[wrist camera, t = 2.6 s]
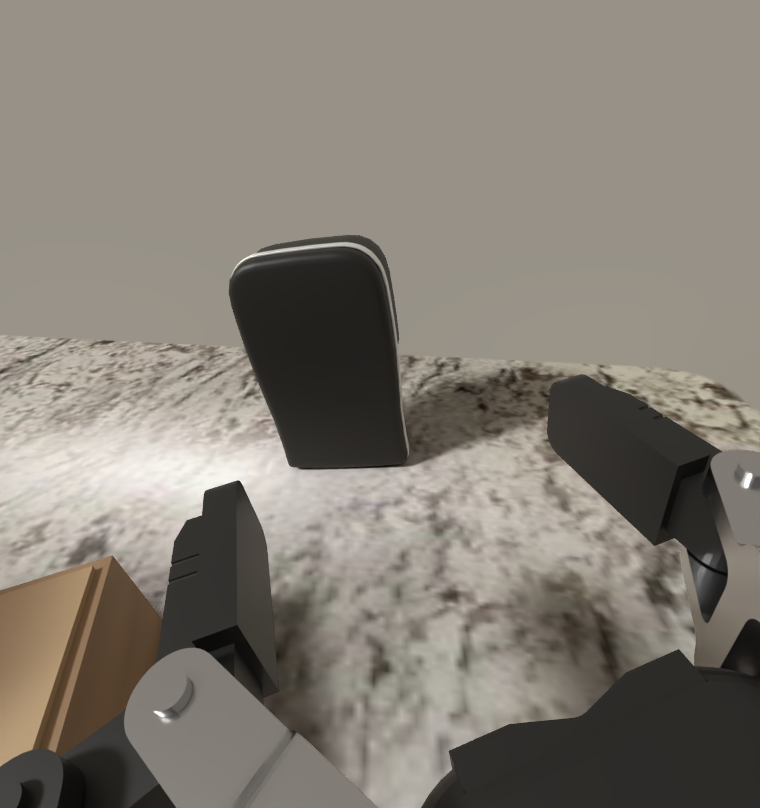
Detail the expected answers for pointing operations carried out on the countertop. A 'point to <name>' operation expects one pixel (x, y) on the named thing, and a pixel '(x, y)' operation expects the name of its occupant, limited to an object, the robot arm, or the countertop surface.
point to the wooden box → (71, 655)
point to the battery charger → (325, 349)
